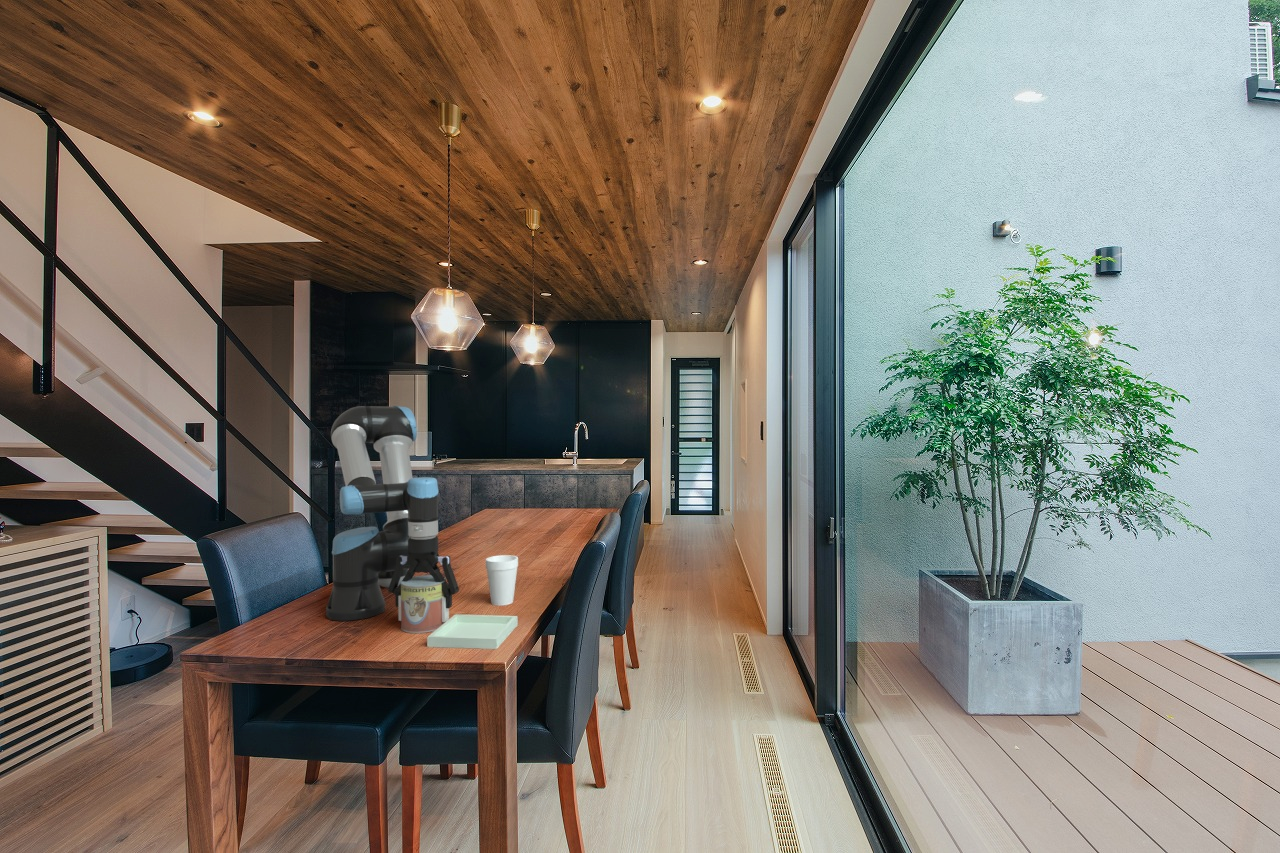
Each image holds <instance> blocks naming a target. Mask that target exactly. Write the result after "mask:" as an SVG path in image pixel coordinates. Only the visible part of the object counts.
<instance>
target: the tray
mask: <svg viewBox="0 0 1280 853" xmlns="http://www.w3.org/2000/svg"><path fill="white" fill-rule="evenodd" d="M518 619H519V618H518V615H494V614H493V615H491V614H490V615H488V614H459V613H458V614H454V615H453V616H451V617H449V619H448V620H447V621H446V622H445V623H444V624H443V625H441V626H440V627H439V628H438V629H436V630H435V631H432V632H431V633H430V634H429V635H428V636H427V639H426V640H427V642H426V643H427V644H426V645H427V648H446V649H447V648H450V649H455V648H456V649H479V650H480V649H482V650H483V649H484V650H497V649H498V648H499V647H500V646H501V645H502V644H503V642H504V641H505V640H506V639H507V638H508V637H509V636H510V634H511V633H512V632H513V631H514V630H515V629H516V628H517V627H518V625H519V624H518Z"/></svg>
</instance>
